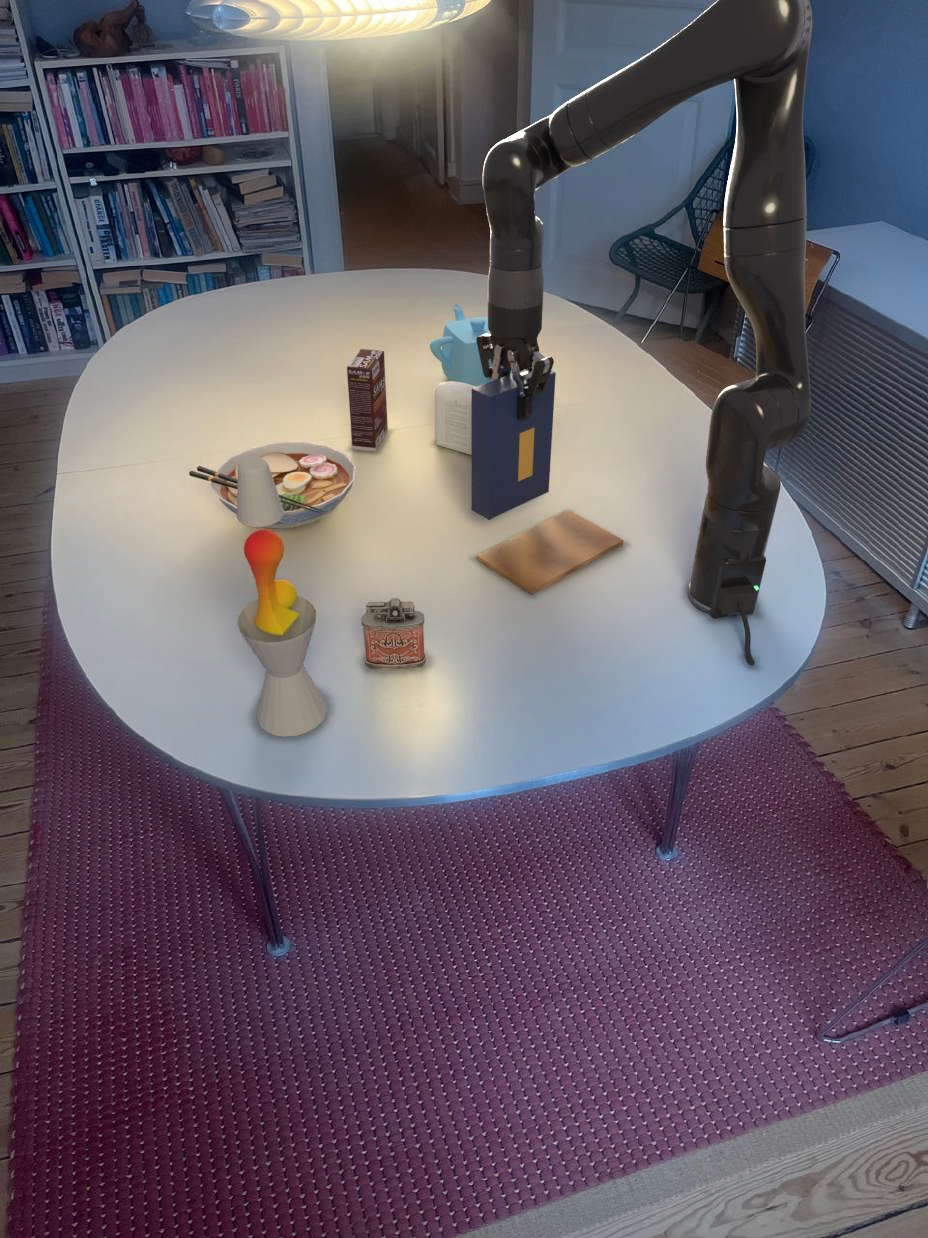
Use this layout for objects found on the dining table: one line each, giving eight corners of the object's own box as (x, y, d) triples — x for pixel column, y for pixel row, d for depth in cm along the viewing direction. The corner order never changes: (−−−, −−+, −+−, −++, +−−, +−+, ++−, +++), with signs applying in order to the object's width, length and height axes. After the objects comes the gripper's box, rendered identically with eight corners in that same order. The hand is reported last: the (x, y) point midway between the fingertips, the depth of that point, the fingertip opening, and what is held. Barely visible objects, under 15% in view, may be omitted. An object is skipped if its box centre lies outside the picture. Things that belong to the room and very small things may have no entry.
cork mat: (567, 513, 155) (568, 509, 155) (623, 544, 148) (623, 540, 148) (476, 559, 145) (476, 555, 145) (531, 594, 138) (531, 590, 137)
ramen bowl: (392, 502, 158) (389, 459, 153) (306, 571, 143) (300, 525, 137) (274, 465, 168) (268, 423, 163) (183, 526, 153) (173, 481, 148)
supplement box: (377, 452, 172) (371, 369, 162) (351, 450, 173) (344, 367, 163) (389, 431, 178) (385, 349, 169) (364, 428, 179) (359, 347, 169)
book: (490, 397, 132) (556, 372, 139) (471, 388, 135) (536, 364, 142) (488, 520, 144) (549, 491, 151) (470, 510, 147) (531, 482, 154)
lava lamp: (306, 745, 114) (268, 492, 92) (241, 726, 117) (189, 475, 95) (340, 698, 121) (312, 450, 99) (278, 680, 123) (238, 436, 102)
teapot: (531, 377, 197) (534, 313, 189) (495, 408, 186) (496, 341, 178) (455, 360, 204) (455, 298, 196) (415, 388, 193) (413, 323, 185)
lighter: (425, 653, 128) (423, 593, 121) (425, 669, 125) (423, 609, 119) (365, 654, 127) (360, 594, 121) (364, 671, 125) (359, 610, 119)
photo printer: (492, 449, 173) (493, 385, 165) (481, 459, 170) (481, 394, 162) (443, 436, 177) (442, 373, 169) (431, 445, 174) (430, 382, 166)
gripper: (572, 303, 127) (565, 421, 138) (500, 278, 136) (498, 390, 146) (532, 317, 123) (528, 437, 134) (460, 290, 132) (461, 405, 142)
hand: (512, 412), depth 140 cm, fingers closed on book, 4 cm apart
